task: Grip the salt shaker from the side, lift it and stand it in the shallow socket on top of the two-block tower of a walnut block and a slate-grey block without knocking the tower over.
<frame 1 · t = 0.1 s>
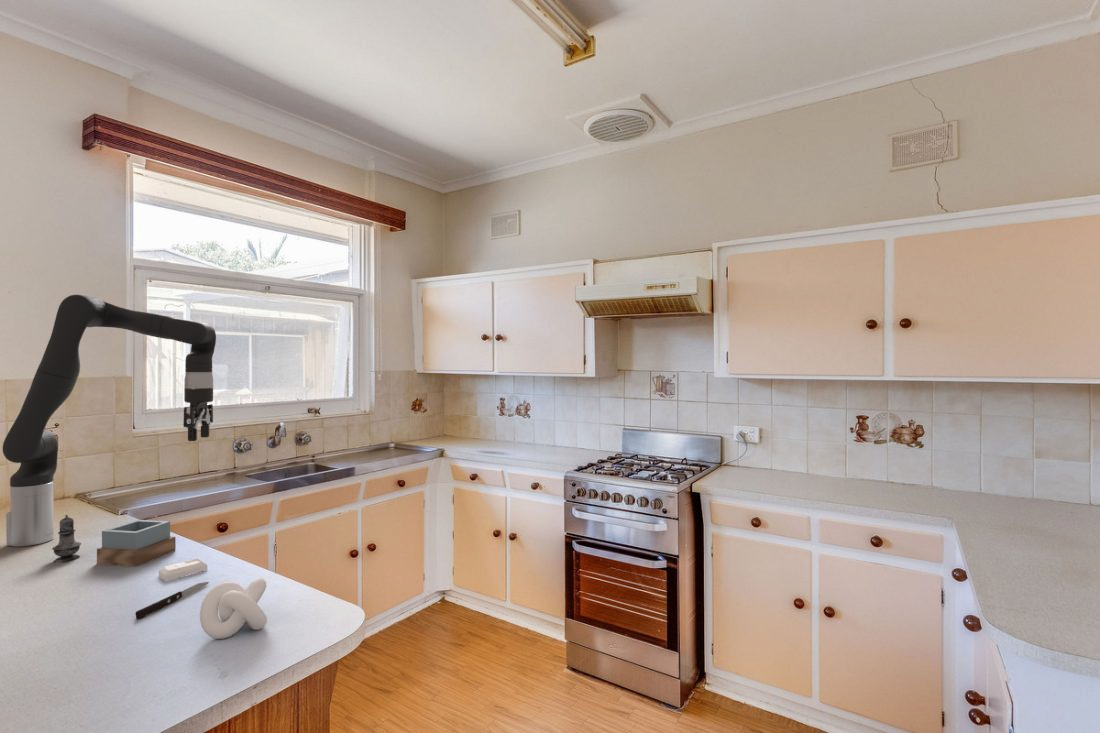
hand: (198, 439, 168), 29 cm above the table, tool pointing down, fingers open, 8 cm apart
kitchen knife: (175, 603, 119), on the table
tower base: (137, 559, 147), on the table, touching tower top
tower top: (137, 542, 147), point 4 cm above the table, touching tower base
soap bar: (183, 575, 135), on the table
salt shaker: (66, 559, 145), on the table
pretzel: (241, 628, 107), on the table
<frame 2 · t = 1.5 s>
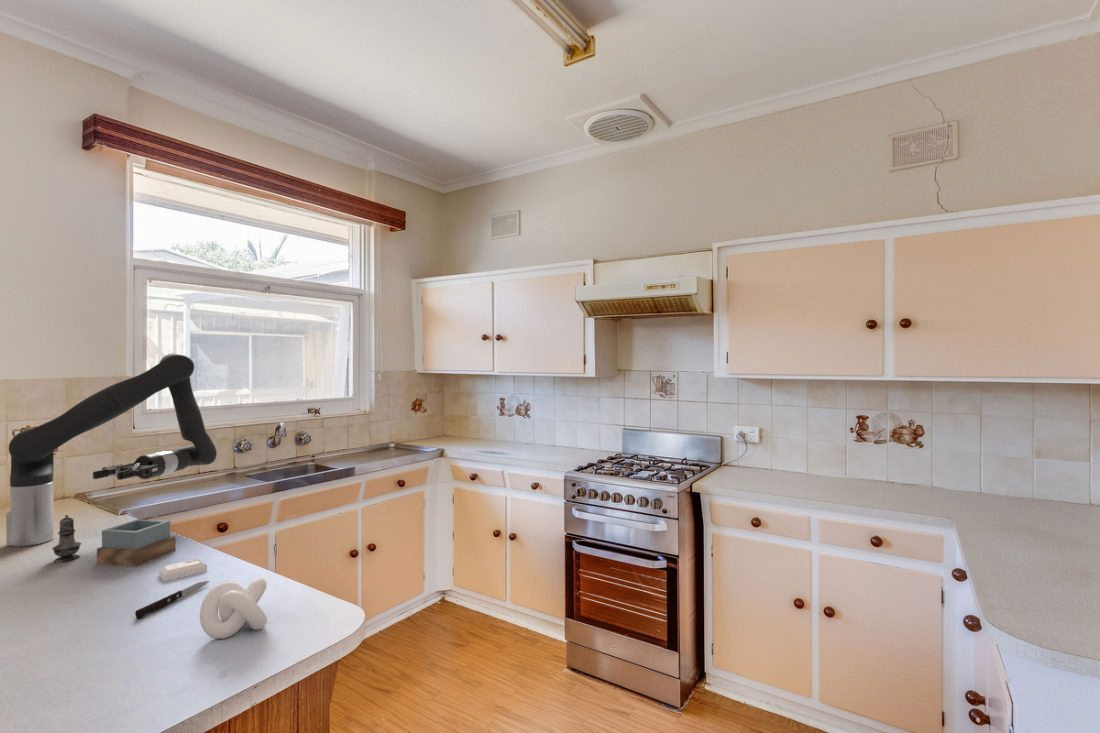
hand: (106, 475, 156), 20 cm above the table, tool horizontal, fingers open, 8 cm apart
nothing on the table moved.
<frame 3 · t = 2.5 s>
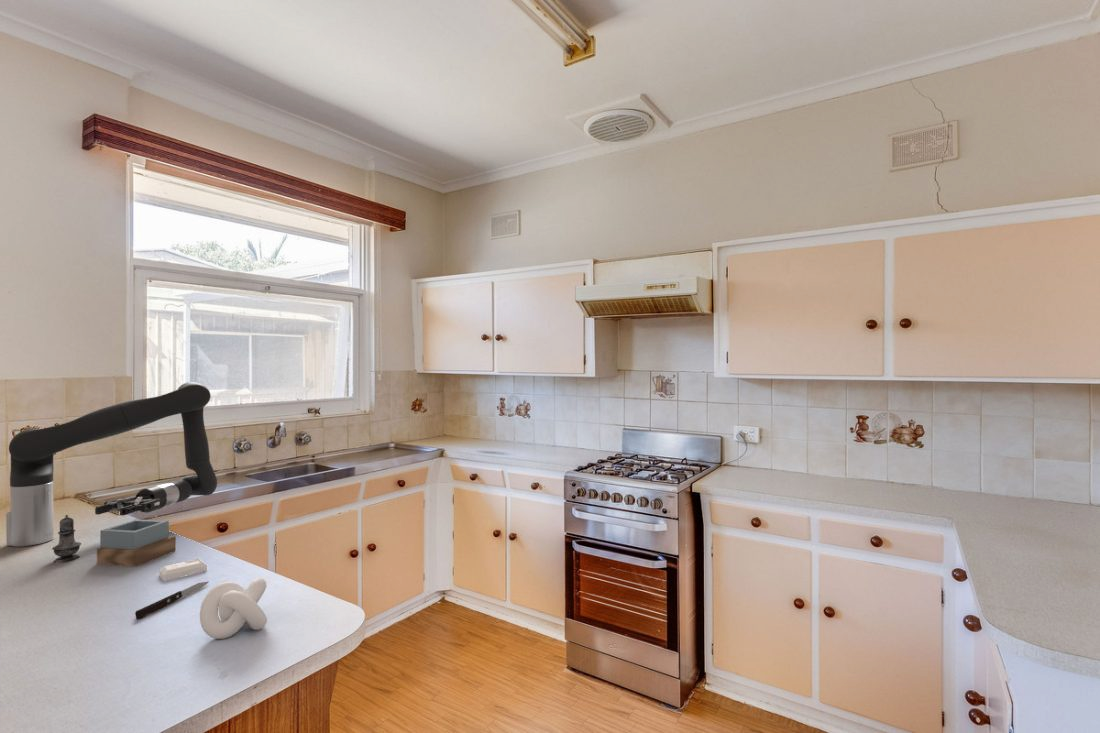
hand: (108, 511, 157), 10 cm above the table, tool horizontal, fingers open, 8 cm apart
nothing on the table moved.
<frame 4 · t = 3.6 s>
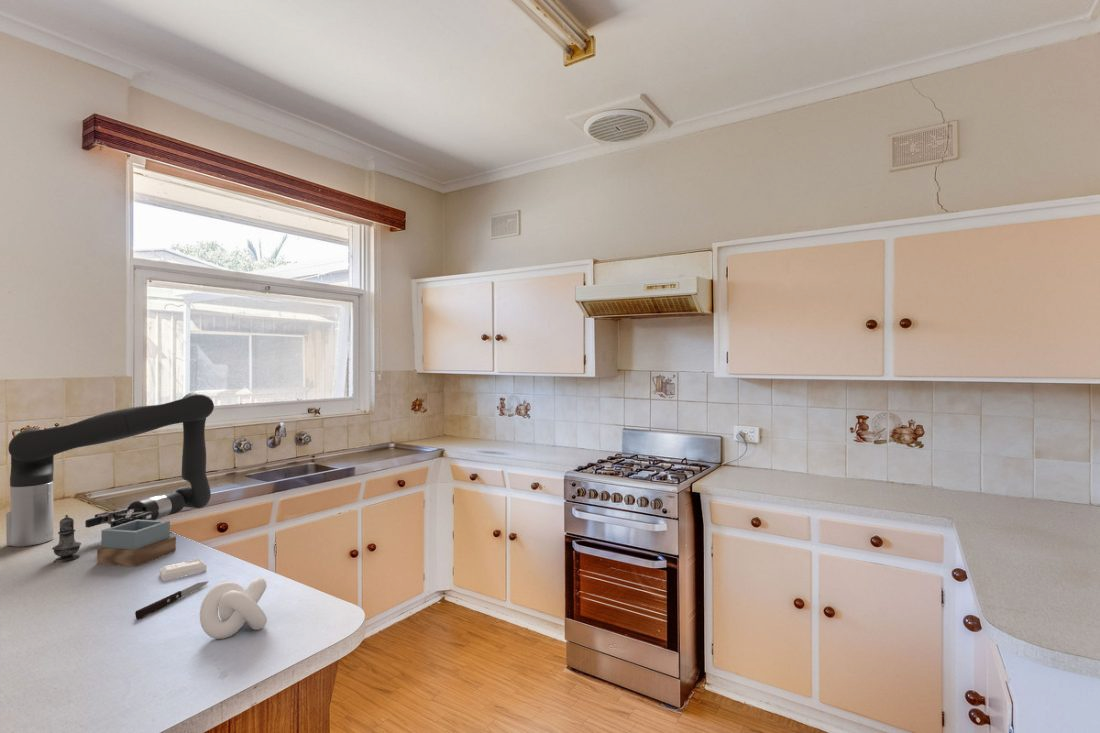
hand: (98, 524, 154), 7 cm above the table, tool horizontal, fingers open, 8 cm apart
nothing on the table moved.
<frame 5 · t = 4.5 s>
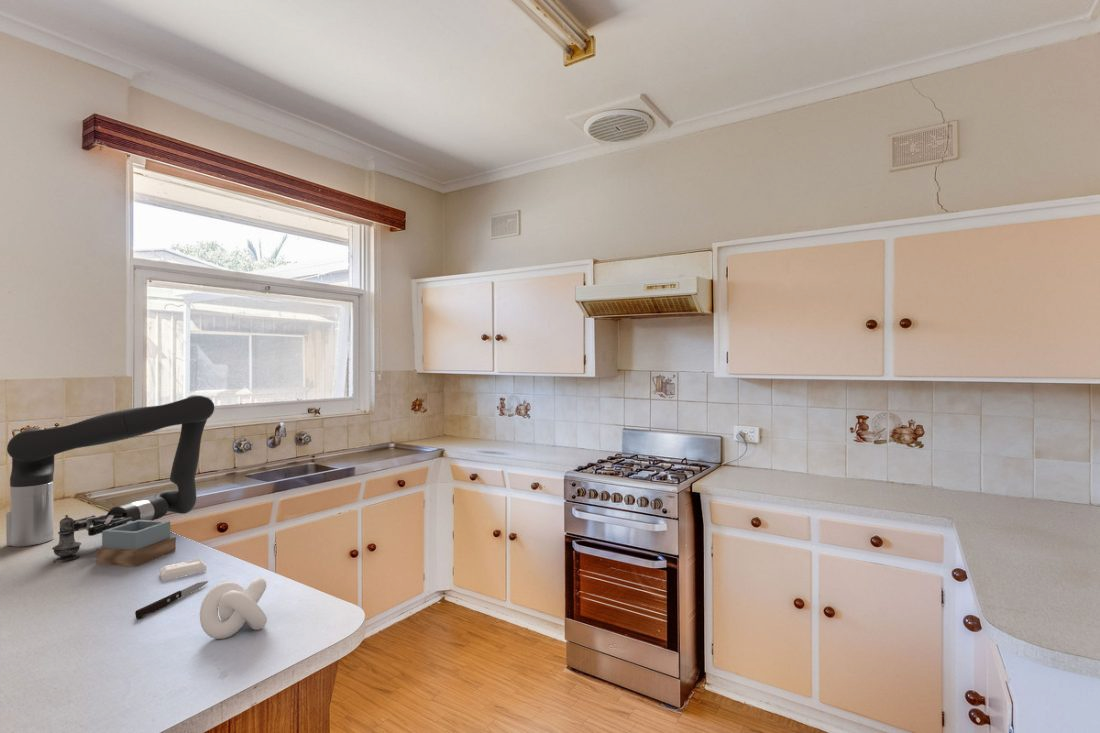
hand: (76, 531, 148), 7 cm above the table, tool horizontal, fingers open, 8 cm apart
nothing on the table moved.
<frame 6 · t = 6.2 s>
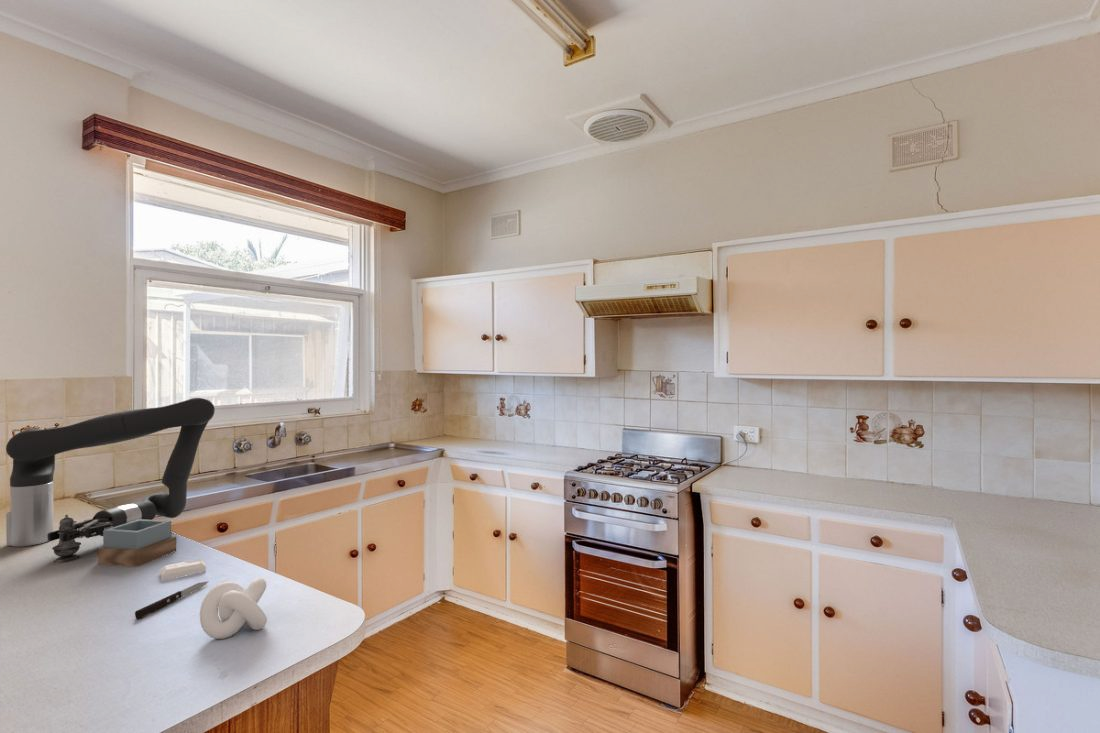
hand: (55, 537, 143), 7 cm above the table, tool horizontal, fingers closed on salt shaker, 3 cm apart
salt shaker: (66, 559, 145), on the table, touching gripper
everything else where it was.
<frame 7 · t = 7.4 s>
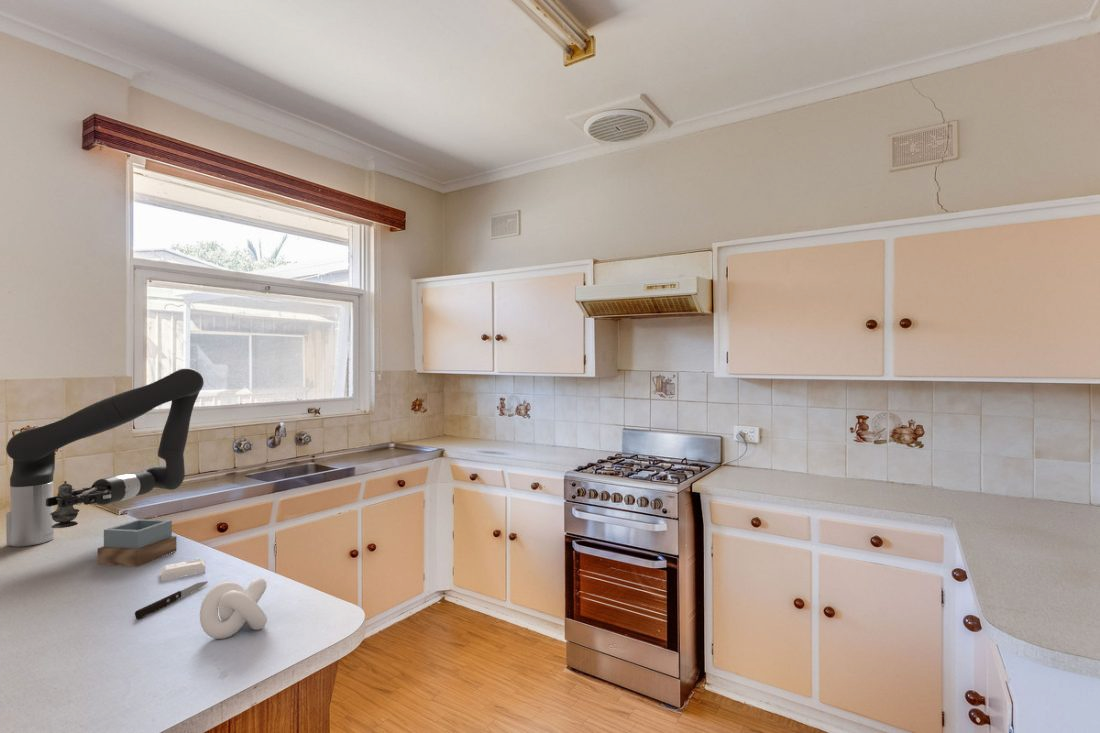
hand: (54, 503, 142), 16 cm above the table, tool horizontal, fingers closed on salt shaker, 3 cm apart
salt shaker: (64, 526, 145), point 9 cm above the table, touching gripper
everything else where it was.
when the fingers open (15 cm above the table, at t = 12.1 s): salt shaker drops 2 cm, resting on tower top.
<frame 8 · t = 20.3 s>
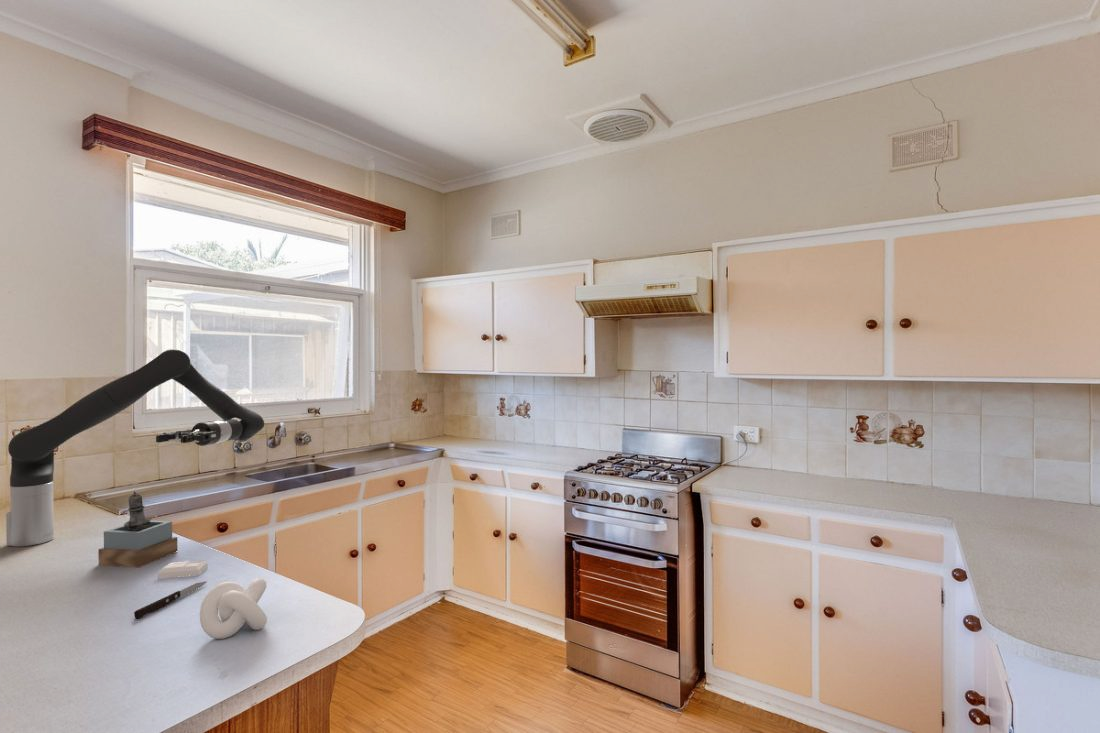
hand: (169, 439, 161), 30 cm above the table, tool horizontal, fingers open, 8 cm apart
tower top: (139, 542, 146), point 4 cm above the table, touching salt shaker, tower base
salt shaker: (139, 535, 146), point 6 cm above the table, touching tower top
at the end: salt shaker 0.1 cm off-centre on the tower top, point 2.1 cm above the tower top's base; salt shaker tilted 5°; tower top 0.1 cm off-centre on the tower base, point 4.5 cm above the tower base's base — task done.
